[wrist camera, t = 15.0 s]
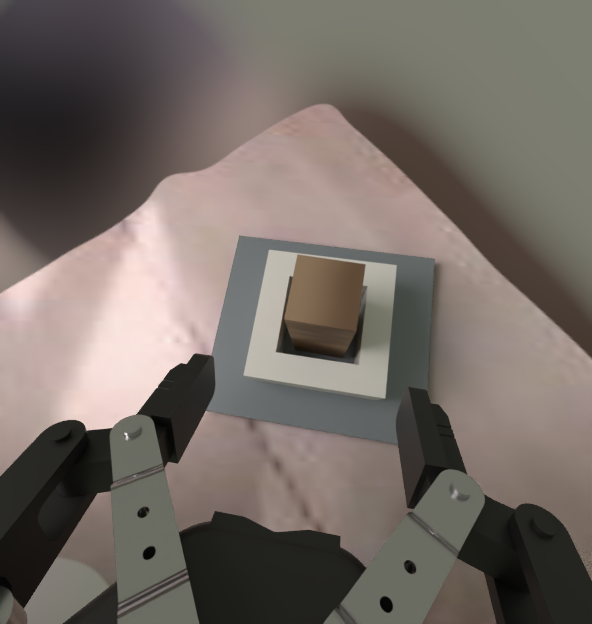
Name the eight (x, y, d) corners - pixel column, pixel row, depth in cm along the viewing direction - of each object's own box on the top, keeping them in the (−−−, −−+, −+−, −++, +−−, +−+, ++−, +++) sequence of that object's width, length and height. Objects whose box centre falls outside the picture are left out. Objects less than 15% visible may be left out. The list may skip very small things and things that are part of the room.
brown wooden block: (295, 350, 28) (284, 319, 18) (303, 305, 29) (297, 254, 19) (342, 358, 28) (356, 331, 18) (349, 312, 29) (365, 264, 19)
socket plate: (202, 409, 28) (179, 409, 23) (241, 240, 32) (228, 211, 28) (420, 447, 26) (443, 456, 21) (430, 263, 30) (452, 236, 26)
